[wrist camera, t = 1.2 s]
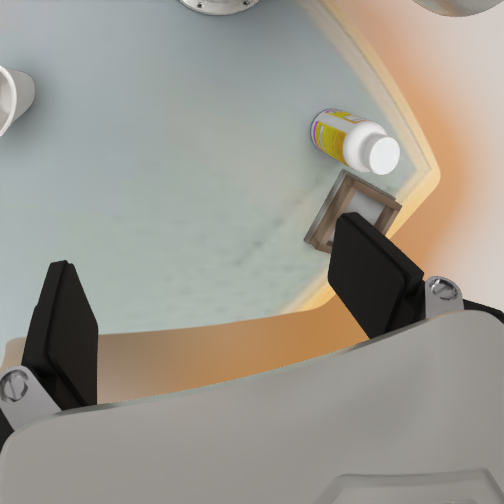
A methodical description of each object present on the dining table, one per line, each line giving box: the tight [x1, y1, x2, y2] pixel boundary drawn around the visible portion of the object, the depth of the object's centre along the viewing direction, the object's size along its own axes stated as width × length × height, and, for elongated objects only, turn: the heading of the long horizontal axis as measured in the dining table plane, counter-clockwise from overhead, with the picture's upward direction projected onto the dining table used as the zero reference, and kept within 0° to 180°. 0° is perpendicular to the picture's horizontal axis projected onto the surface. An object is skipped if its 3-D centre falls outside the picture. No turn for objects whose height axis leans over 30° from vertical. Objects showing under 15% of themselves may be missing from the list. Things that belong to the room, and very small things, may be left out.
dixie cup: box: [0, 66, 36, 137], centre depth 23 cm, size 8×8×10 cm
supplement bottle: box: [311, 109, 400, 175], centre depth 38 cm, size 7×7×13 cm
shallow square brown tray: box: [304, 169, 402, 254], centre depth 52 cm, size 13×13×4 cm
